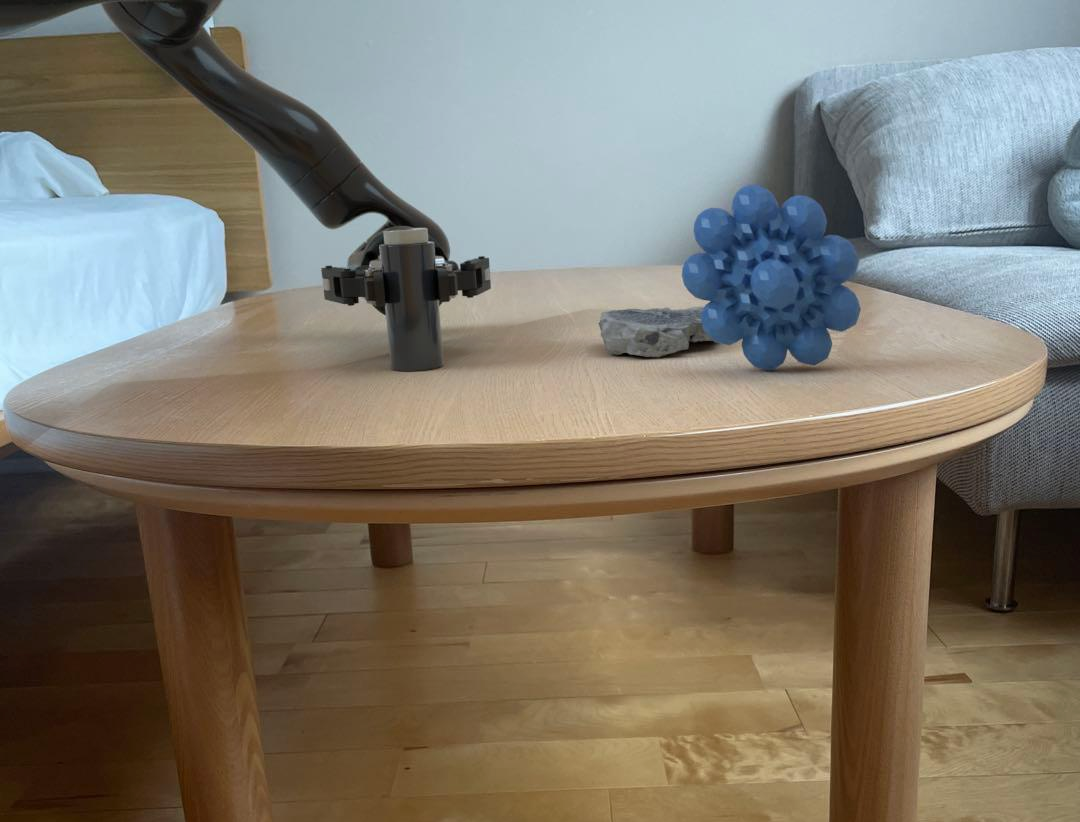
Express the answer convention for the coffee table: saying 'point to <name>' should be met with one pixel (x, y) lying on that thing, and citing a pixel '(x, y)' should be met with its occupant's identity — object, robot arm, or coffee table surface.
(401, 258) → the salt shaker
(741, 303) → the blue flower toy
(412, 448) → the coffee table surface
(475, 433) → the coffee table surface
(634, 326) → the fossil
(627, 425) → the coffee table surface
